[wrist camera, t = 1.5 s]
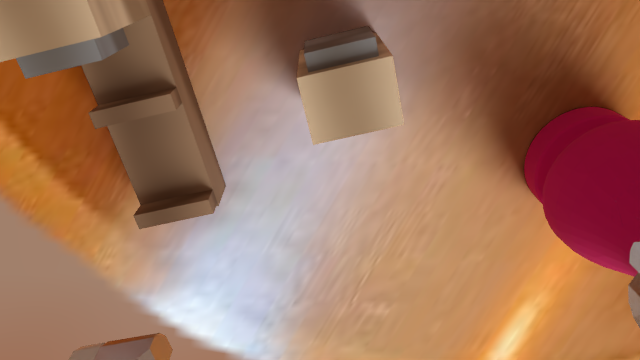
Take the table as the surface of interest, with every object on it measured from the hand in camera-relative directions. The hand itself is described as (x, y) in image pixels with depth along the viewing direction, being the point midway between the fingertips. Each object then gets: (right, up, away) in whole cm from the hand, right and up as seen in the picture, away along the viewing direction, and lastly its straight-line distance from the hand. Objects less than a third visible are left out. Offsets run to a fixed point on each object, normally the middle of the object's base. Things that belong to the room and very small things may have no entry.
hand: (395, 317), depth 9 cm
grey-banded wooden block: (0, +8, +18) cm, 20 cm away
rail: (-10, +8, +18) cm, 22 cm away
